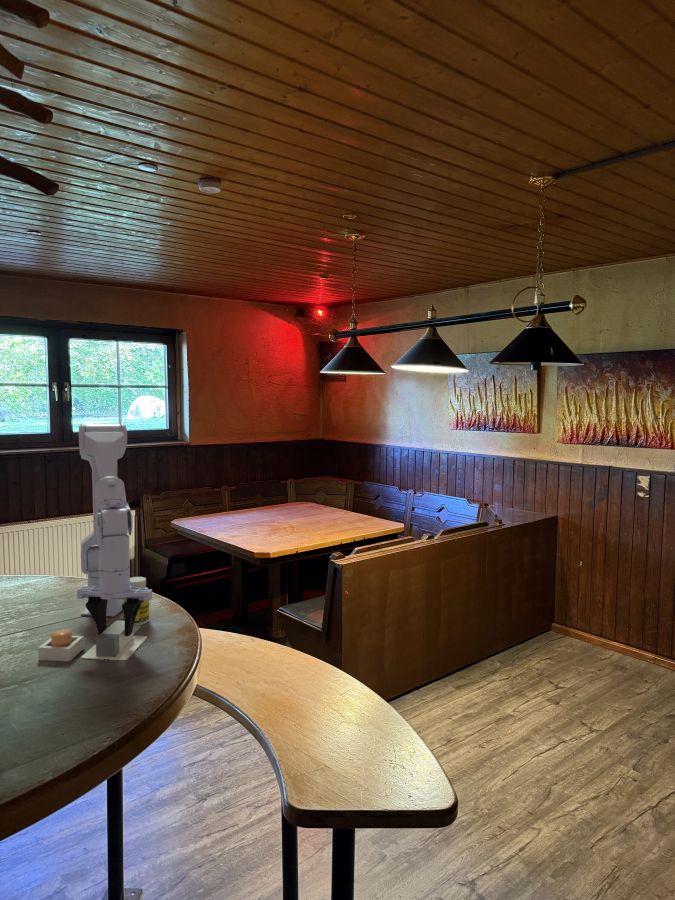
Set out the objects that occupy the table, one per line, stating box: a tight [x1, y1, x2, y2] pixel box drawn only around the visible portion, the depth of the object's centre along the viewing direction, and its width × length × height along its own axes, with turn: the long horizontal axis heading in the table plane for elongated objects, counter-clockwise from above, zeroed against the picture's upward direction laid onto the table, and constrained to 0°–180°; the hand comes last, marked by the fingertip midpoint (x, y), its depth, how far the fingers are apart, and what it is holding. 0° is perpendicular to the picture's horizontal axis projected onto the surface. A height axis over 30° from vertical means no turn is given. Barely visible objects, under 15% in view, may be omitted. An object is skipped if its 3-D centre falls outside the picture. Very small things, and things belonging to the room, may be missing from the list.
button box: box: [37, 635, 85, 662], centre depth 118 cm, size 6×6×2 cm
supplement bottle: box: [123, 576, 150, 626], centre depth 134 cm, size 5×5×10 cm
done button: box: [50, 629, 73, 647], centre depth 118 cm, size 4×4×3 cm
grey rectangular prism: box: [95, 619, 134, 657], centre depth 121 cm, size 9×4×4 cm, turn 176°
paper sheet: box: [80, 635, 149, 661], centre depth 121 cm, size 11×9×1 cm
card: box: [133, 625, 141, 635], centre depth 130 cm, size 4×6×1 cm, turn 87°
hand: (115, 633), depth 121 cm, fingers open, 5 cm apart
